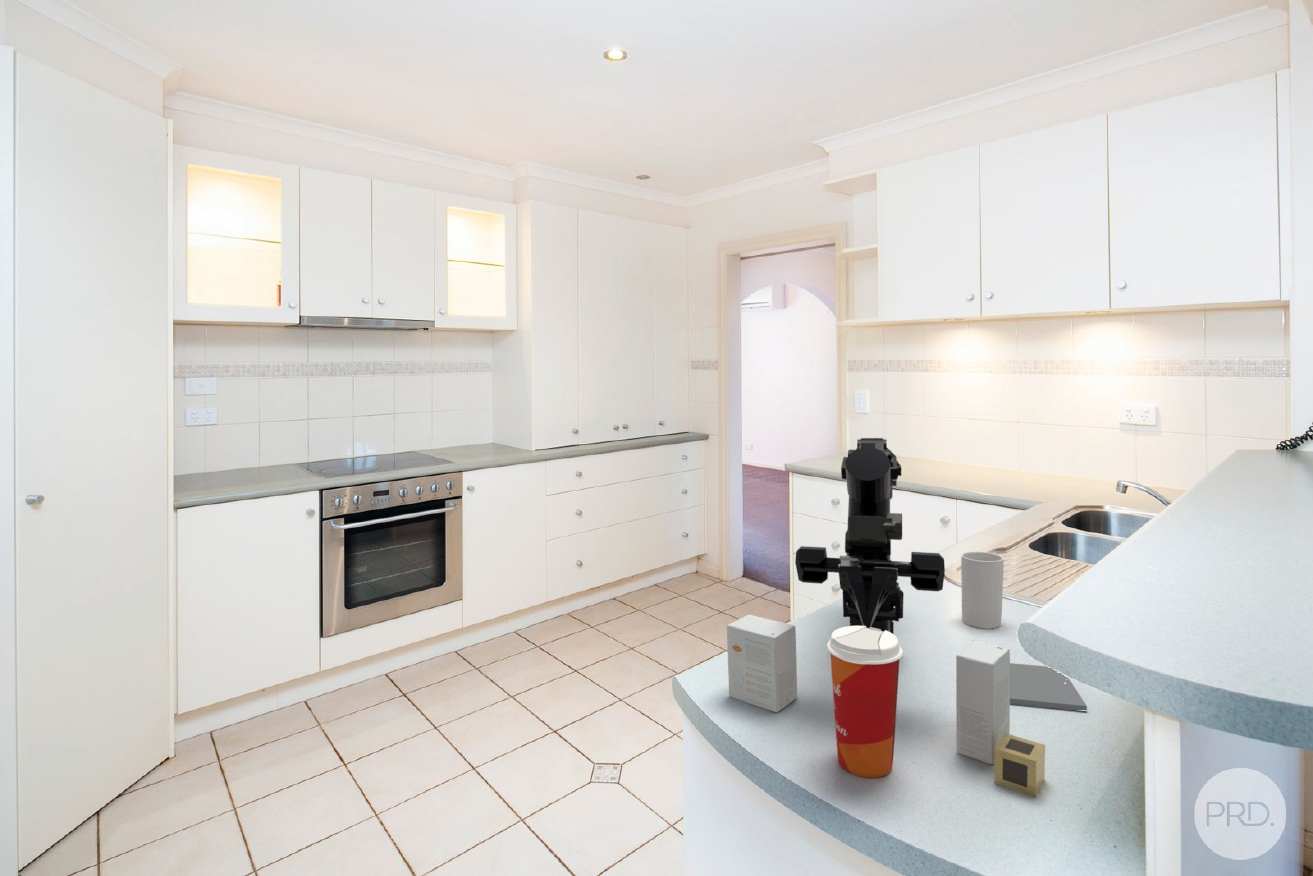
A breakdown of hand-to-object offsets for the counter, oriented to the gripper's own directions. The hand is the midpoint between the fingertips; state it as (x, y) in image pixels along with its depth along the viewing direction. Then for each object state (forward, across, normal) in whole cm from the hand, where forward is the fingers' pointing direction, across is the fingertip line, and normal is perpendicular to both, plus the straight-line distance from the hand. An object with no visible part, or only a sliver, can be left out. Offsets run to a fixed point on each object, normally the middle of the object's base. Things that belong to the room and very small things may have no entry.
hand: (866, 627), depth 85 cm
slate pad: (-2, +21, +20) cm, 29 cm away
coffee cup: (+16, 0, +2) cm, 16 cm away
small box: (+7, -14, +11) cm, 19 cm away
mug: (-21, +18, +39) cm, 48 cm away
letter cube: (+15, +16, +3) cm, 22 cm away
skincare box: (+11, +13, +7) cm, 19 cm away
